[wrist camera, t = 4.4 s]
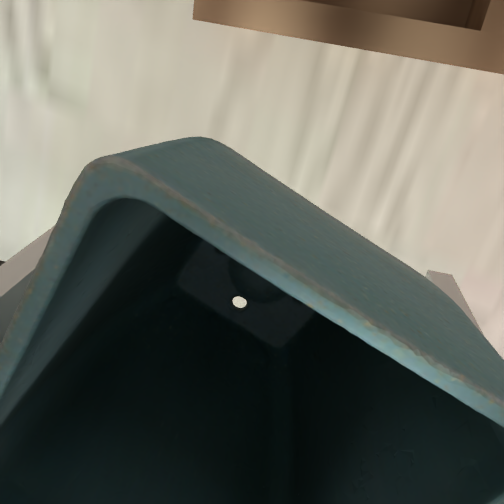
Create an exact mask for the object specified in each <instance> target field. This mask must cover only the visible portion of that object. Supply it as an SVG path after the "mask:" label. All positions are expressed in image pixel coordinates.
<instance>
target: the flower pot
mask: <svg viewBox="0 0 504 504" xmlns="http://www.w3.org/2000/svg"><path fill="white" fill-rule="evenodd" d="M236 296H240V297H243V298H244V299H246V301H247V304H246V306H245V307H243V308H238V307H235V306H234V305H233V302H232V299H233V298H234V297H236ZM0 504H504V360H503V359H502V357H501V356H500V355H499V354H498V353H497V351H496V350H495V349H494V348H493V347H492V345H491V344H490V343H489V342H488V340H487V339H486V338H485V337H484V336H483V334H482V333H481V332H480V331H479V330H478V328H477V327H476V326H475V325H474V324H473V322H472V321H471V320H470V319H469V318H468V316H467V315H466V314H465V313H464V312H463V310H462V309H461V308H460V307H459V306H458V305H457V304H456V303H455V302H454V301H453V300H452V299H451V298H450V297H449V296H448V295H447V294H446V293H444V292H443V291H442V290H441V289H440V288H439V287H437V286H436V285H435V284H434V283H432V282H431V281H430V280H428V279H427V278H426V277H424V276H423V275H421V274H420V273H419V272H417V271H416V270H414V269H413V268H411V267H410V266H408V265H406V264H405V263H403V262H402V261H400V260H399V259H397V258H396V257H394V256H392V255H391V254H389V253H388V252H386V251H385V250H383V249H381V248H380V247H378V246H377V245H375V244H374V243H372V242H371V241H369V240H368V239H366V238H365V237H363V236H361V235H360V234H358V233H357V232H355V231H354V230H352V229H351V228H349V227H348V226H346V225H345V224H343V223H342V222H340V221H339V220H337V219H336V218H334V217H332V216H331V215H329V214H328V213H326V212H325V211H323V210H322V209H320V208H319V207H317V206H316V205H314V204H313V203H311V202H310V201H308V200H307V199H305V198H304V197H302V196H301V195H299V194H298V193H296V192H295V191H293V190H292V189H290V188H289V187H287V186H286V185H284V184H283V183H281V182H280V181H278V180H277V179H275V178H274V177H272V176H271V175H269V174H268V173H266V172H265V171H263V170H262V169H260V168H259V167H258V166H256V165H255V164H253V163H252V162H250V161H249V160H247V159H246V158H244V157H243V156H242V155H240V154H239V153H237V152H236V151H234V150H232V149H231V148H229V147H227V146H226V145H224V144H222V143H220V142H218V141H215V140H213V139H210V138H205V137H188V138H182V139H177V140H172V141H166V142H162V143H159V144H154V145H149V146H145V147H141V148H137V149H133V150H129V151H125V152H121V153H117V154H113V155H108V156H104V157H100V158H97V159H95V160H94V161H92V162H90V163H89V164H88V165H86V166H85V167H84V169H83V170H82V172H81V174H80V175H79V177H78V178H77V180H76V181H75V183H74V185H73V187H72V189H71V191H70V193H69V195H68V197H67V199H66V200H65V203H64V206H63V209H62V212H61V214H60V217H59V219H58V221H57V223H56V225H55V226H54V228H53V230H52V232H51V234H50V237H49V240H48V242H47V245H46V247H45V249H44V252H43V254H42V256H41V257H40V259H39V261H38V264H37V265H36V267H35V271H34V273H33V275H32V278H31V280H30V282H29V284H28V286H27V288H26V290H25V292H24V294H23V296H22V299H21V301H20V303H19V305H18V308H17V310H16V312H15V313H14V315H13V317H12V319H11V321H10V324H9V326H8V328H7V330H6V333H5V336H4V338H3V341H2V342H1V344H0Z"/></svg>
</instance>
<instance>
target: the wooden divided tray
mask: <svg viewBox="0 0 504 504" xmlns="http://www.w3.org/2000/svg"><path fill="white" fill-rule="evenodd" d="M193 19H194V20H199V21H205V22H211V23H216V24H222V25H228V26H233V27H239V28H245V29H250V30H256V31H262V32H267V33H273V34H279V35H284V36H290V37H296V38H301V39H307V40H313V41H318V42H324V43H330V44H335V45H341V46H347V47H352V48H358V49H364V50H369V51H375V52H381V53H386V54H392V55H398V56H403V57H409V58H415V59H420V60H426V61H432V62H437V63H443V64H449V65H454V66H460V67H466V68H471V69H477V70H483V71H488V72H494V73H500V74H504V0H194V10H193Z"/></svg>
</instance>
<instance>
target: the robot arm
mask: <svg viewBox="0 0 504 504" xmlns="http://www.w3.org/2000/svg"><path fill="white" fill-rule="evenodd" d="M53 228H54V227H52V228H51V229H49V230H48V231H47V232H45V233H44V234H43V235H41V236H40V237H39V238H37V239H36V240H35V241H33V242H32V243H31V244H29V245H28V246H26V247H25V248H24V249H22V250H21V251H20V252H18V253H17V254H16V255H14V256H13V257H12V258H10V259H9V260H8V261H6V262H4V261H0V344H1V342H2V341H3V338H4V336H5V333H6V330H7V328H8V326H9V324H10V321H11V319H12V317H13V315H14V313H15V312H16V310H17V308H18V305H19V303H20V301H21V299H22V296H23V294H24V292H25V290H26V288H27V286H28V284H29V282H30V280H31V278H32V275H33V273H34V271H35V267H36V265H37V264H38V261H39V259H40V257H41V256H42V254H43V252H44V249H45V247H46V245H47V242H48V240H49V237H50V234H51V232H52V230H53ZM426 278H427V279H428V280H430V281H431V282H432V283H434V284H435V285H436V286H437V287H439V288H440V289H441V290H442V291H443V292H444V293H446V294H447V295H448V296H449V297H450V298H451V299H452V300H453V301H454V302H455V303H456V304H457V305H458V306H459V307H460V308H461V309H462V310H463V312H464V313H465V314H466V315H467V316H468V318H469V319H470V320H471V321H472V322H473V324H474V325H475V326H476V327H477V328H478V330H479V331H480V332H481V333H482V331H481V329H480V327H479V325H478V324H477V322H476V320H475V318H474V316H473V314H472V312H471V310H470V308H469V306H468V304H467V303H466V301H465V299H464V297H463V295H462V293H461V291H460V289H459V287H458V285H457V283H456V282H455V280H454V278H453V276H452V275H450V274H445V273H440V272H435V271H430V270H428V271H427V274H426ZM482 334H483V333H482ZM483 336H484V335H483Z"/></svg>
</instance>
